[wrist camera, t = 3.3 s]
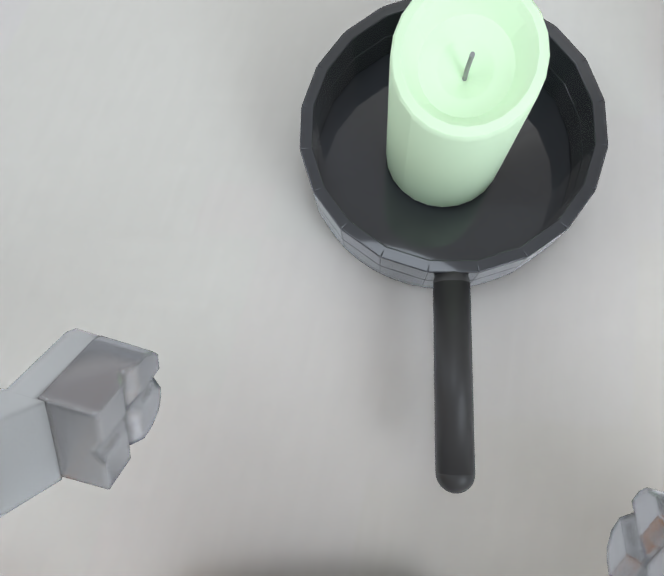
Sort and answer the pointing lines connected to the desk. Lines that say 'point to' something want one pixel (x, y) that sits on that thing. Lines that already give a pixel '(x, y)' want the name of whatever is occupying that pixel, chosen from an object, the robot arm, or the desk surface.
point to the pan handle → (453, 382)
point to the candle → (460, 93)
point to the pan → (454, 221)
